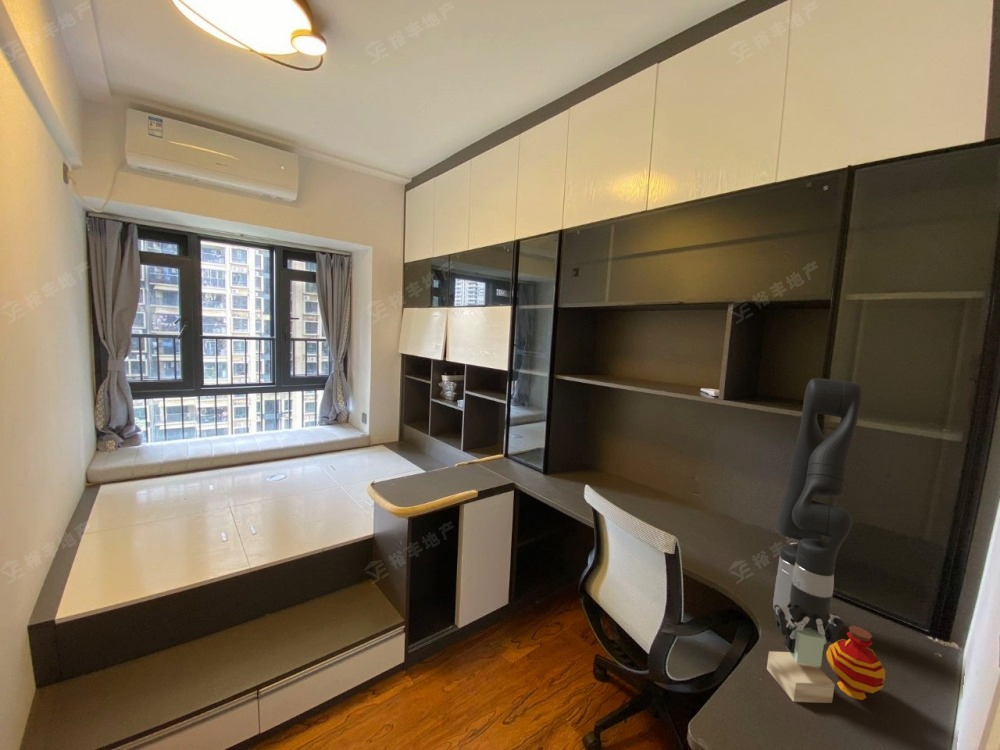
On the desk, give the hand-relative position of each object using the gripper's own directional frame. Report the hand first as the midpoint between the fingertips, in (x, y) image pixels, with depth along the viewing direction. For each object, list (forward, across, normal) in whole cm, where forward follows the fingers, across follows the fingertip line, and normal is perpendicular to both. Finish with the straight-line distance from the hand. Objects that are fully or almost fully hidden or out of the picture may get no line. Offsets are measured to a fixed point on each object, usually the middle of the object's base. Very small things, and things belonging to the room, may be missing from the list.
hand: (802, 652), depth 94 cm
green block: (+1, 0, 0) cm, 1 cm away
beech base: (+9, 0, 0) cm, 9 cm away
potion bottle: (+9, -12, -2) cm, 15 cm away
